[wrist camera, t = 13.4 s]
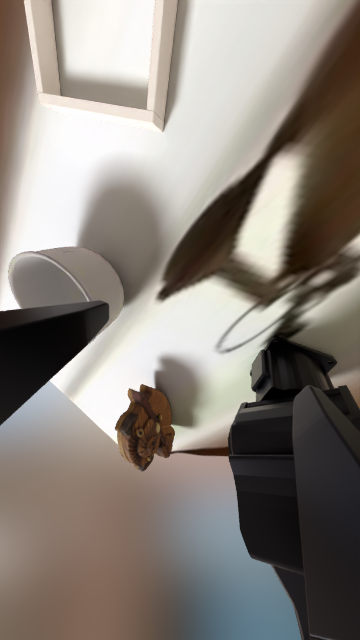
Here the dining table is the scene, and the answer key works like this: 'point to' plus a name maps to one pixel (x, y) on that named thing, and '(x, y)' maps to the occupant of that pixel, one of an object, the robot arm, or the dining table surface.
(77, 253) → the teacup
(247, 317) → the dining table surface
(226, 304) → the dining table surface
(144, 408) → the wooden carving
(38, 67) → the tray
